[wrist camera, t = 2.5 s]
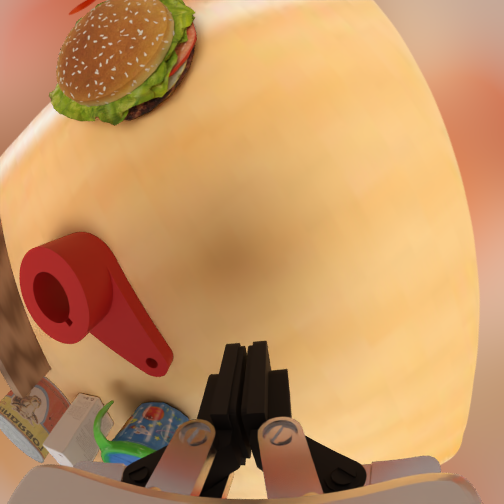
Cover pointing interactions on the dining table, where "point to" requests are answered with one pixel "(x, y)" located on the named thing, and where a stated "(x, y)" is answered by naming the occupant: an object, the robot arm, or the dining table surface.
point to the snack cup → (139, 432)
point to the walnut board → (17, 335)
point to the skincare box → (77, 432)
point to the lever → (90, 300)
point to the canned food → (32, 417)
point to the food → (123, 59)
